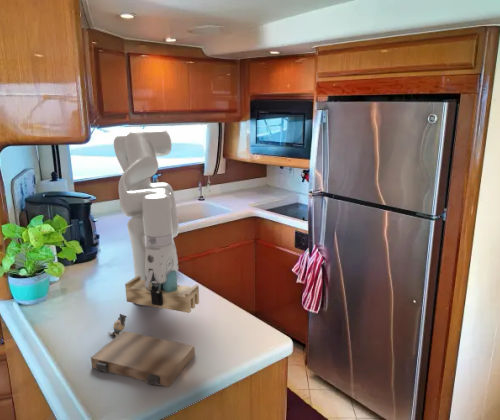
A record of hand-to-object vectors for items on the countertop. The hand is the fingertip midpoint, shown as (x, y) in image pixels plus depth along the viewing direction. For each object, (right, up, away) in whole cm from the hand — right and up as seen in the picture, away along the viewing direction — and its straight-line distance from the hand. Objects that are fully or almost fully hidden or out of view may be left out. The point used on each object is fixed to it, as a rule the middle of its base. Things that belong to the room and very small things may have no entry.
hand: (163, 298), depth 116 cm
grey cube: (-2, +3, 0) cm, 4 cm away
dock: (-5, -17, -2) cm, 18 cm away
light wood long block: (0, -1, 0) cm, 1 cm away
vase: (-16, -14, +12) cm, 24 cm away
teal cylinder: (+2, +3, -2) cm, 4 cm away
